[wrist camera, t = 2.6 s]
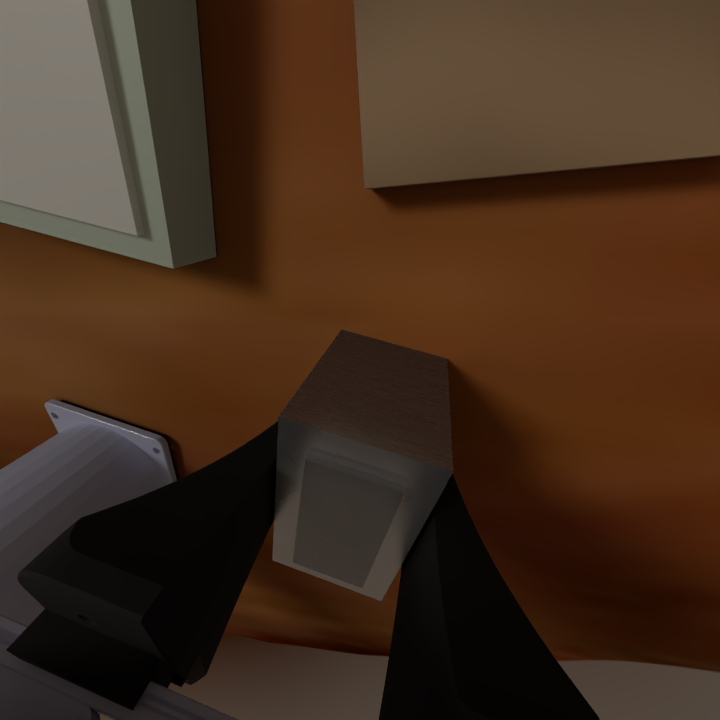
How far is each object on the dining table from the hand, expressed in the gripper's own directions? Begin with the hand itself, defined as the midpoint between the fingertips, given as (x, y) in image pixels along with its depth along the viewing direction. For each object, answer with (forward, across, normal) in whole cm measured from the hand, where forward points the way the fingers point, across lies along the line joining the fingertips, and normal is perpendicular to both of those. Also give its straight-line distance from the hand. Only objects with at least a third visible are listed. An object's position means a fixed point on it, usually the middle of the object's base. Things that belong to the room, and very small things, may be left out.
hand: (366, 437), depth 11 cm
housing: (+2, 0, 0) cm, 2 cm away
